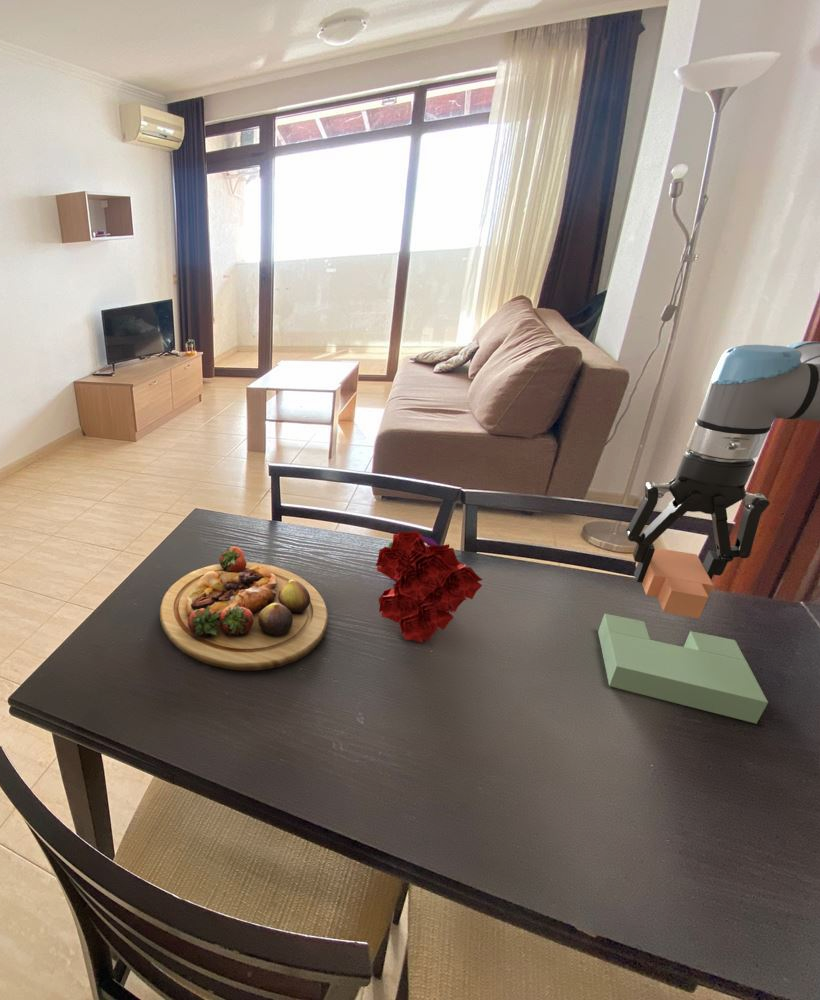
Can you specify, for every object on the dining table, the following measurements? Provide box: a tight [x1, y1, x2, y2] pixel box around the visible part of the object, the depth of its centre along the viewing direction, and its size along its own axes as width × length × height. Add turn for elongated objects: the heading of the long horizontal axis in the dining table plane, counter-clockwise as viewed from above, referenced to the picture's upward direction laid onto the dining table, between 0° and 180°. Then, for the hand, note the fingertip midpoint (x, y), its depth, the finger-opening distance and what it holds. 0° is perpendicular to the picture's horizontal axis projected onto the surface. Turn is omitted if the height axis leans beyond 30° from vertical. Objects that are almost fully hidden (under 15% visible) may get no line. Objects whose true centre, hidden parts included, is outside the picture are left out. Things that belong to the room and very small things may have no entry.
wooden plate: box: [159, 546, 329, 671], centre depth 103 cm, size 32×32×8 cm
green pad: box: [597, 613, 769, 725], centre depth 82 cm, size 16×14×4 cm
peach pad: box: [635, 547, 714, 620], centre depth 87 cm, size 7×14×4 cm, turn 149°
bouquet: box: [375, 530, 483, 643], centre depth 104 cm, size 20×16×30 cm
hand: (668, 583), depth 89 cm, fingers closed on peach pad, 7 cm apart
